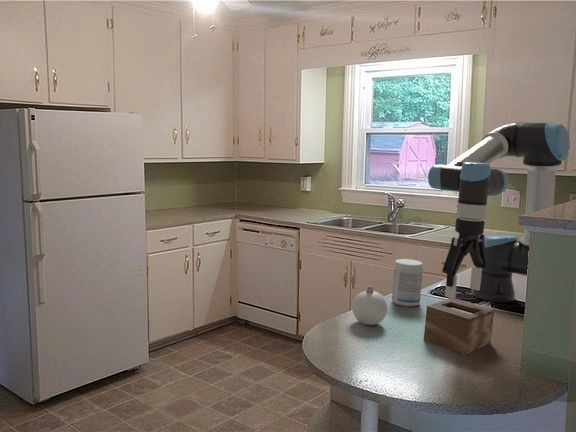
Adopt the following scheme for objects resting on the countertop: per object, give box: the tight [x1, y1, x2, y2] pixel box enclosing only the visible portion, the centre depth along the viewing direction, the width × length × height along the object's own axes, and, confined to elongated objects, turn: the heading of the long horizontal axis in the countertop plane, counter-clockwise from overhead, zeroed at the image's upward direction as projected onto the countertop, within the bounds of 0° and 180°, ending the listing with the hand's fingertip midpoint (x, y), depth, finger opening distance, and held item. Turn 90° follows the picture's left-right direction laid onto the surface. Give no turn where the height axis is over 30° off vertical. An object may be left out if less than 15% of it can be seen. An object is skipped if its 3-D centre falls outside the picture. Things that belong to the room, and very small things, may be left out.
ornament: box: [352, 285, 388, 326], centre depth 162 cm, size 10×10×12 cm
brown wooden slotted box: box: [423, 298, 495, 356], centre depth 152 cm, size 14×13×10 cm
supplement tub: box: [391, 258, 423, 307], centre depth 185 cm, size 10×10×15 cm
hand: (462, 293), depth 151 cm, fingers open, 13 cm apart
